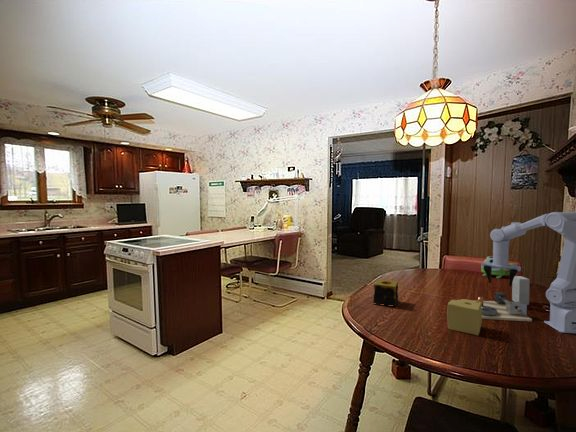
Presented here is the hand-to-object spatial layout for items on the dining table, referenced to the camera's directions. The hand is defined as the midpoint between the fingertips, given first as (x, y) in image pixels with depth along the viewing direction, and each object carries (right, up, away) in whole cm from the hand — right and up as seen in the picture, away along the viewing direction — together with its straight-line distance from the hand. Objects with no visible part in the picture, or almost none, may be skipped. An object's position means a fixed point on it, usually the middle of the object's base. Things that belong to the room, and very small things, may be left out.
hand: (500, 284), depth 133 cm
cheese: (-30, -12, -22) cm, 39 cm away
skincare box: (+12, -10, +3) cm, 16 cm away
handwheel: (-14, -9, -10) cm, 20 cm away
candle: (-51, -11, +7) cm, 52 cm away
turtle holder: (+34, -7, +49) cm, 60 cm away
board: (-8, -10, -6) cm, 14 cm away
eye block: (-2, -11, -12) cm, 16 cm away
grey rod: (-1, -9, -4) cm, 10 cm away
